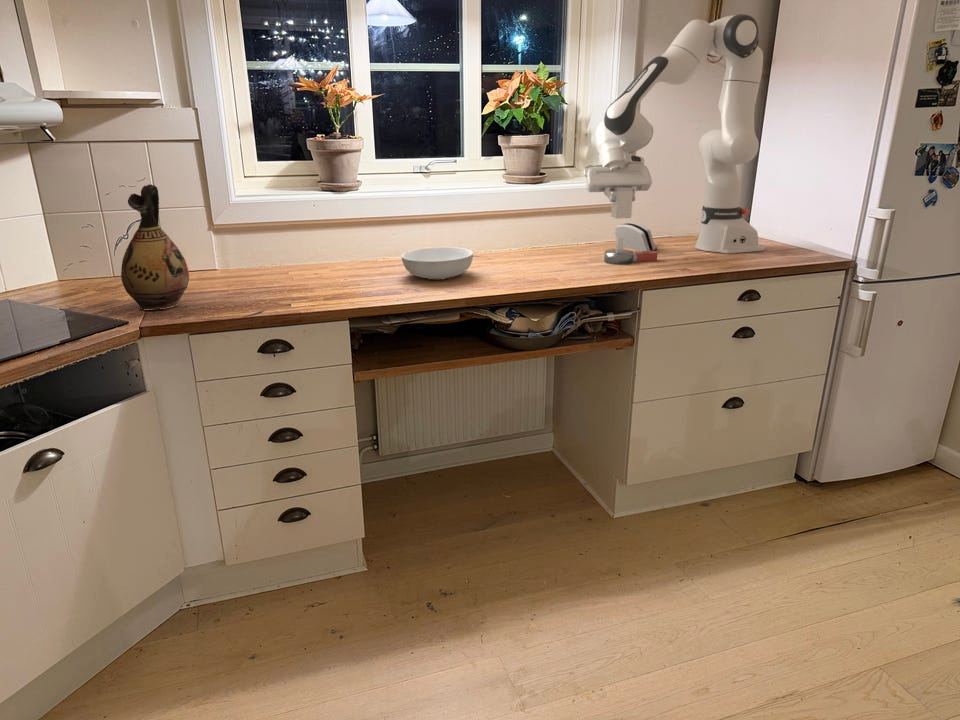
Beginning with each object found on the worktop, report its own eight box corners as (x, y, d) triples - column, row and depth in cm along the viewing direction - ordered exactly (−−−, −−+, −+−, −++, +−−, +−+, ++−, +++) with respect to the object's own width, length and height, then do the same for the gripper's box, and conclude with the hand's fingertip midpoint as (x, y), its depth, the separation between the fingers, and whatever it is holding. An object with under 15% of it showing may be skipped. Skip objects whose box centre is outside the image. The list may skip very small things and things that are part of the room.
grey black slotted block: (659, 251, 230) (653, 223, 226) (648, 257, 229) (642, 229, 225) (628, 243, 245) (622, 217, 240) (618, 248, 243) (611, 223, 239)
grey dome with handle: (650, 257, 221) (651, 234, 219) (660, 262, 213) (662, 239, 210) (600, 259, 220) (601, 235, 217) (608, 265, 211) (610, 240, 209)
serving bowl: (432, 265, 214) (431, 244, 212) (487, 273, 203) (486, 250, 200) (387, 279, 198) (386, 255, 196) (444, 288, 187) (443, 263, 184)
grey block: (626, 215, 213) (627, 186, 210) (631, 218, 209) (632, 188, 206) (611, 216, 213) (612, 186, 210) (615, 218, 208) (617, 188, 205)
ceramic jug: (182, 313, 167) (160, 188, 157) (117, 315, 166) (91, 190, 156) (203, 295, 183) (184, 181, 173) (144, 297, 182) (122, 182, 171)
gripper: (584, 159, 210) (591, 194, 205) (648, 157, 213) (657, 193, 207) (580, 172, 216) (587, 207, 210) (642, 171, 218) (651, 205, 213)
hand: (622, 200), depth 209 cm, fingers closed on grey block, 5 cm apart
